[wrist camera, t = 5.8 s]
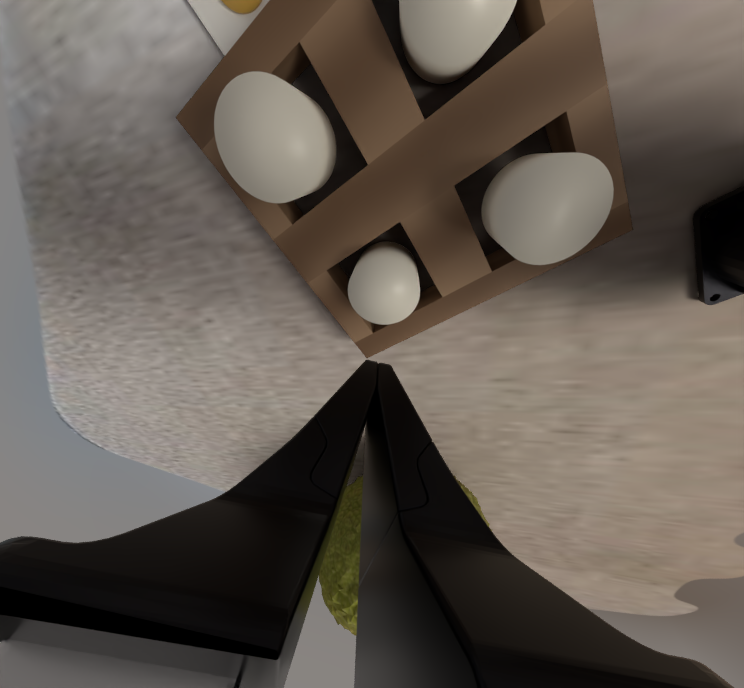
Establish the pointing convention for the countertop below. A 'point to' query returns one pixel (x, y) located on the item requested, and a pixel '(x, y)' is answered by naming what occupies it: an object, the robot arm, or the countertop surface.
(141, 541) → the robot arm
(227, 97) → the button
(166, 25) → the countertop surface
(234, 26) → the card
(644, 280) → the countertop surface
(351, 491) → the fruit
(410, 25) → the white egg
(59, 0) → the countertop surface
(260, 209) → the board
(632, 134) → the countertop surface
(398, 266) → the button
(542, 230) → the pale grey egg
